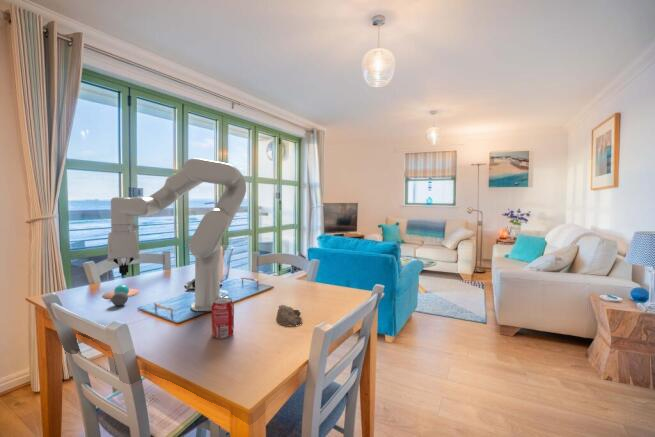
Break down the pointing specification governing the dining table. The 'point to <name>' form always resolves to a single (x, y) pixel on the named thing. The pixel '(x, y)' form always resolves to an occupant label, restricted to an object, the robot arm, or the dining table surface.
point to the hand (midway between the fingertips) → (123, 274)
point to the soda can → (222, 317)
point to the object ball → (121, 289)
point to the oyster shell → (288, 316)
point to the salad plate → (191, 285)
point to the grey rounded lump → (119, 298)
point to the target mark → (111, 294)
